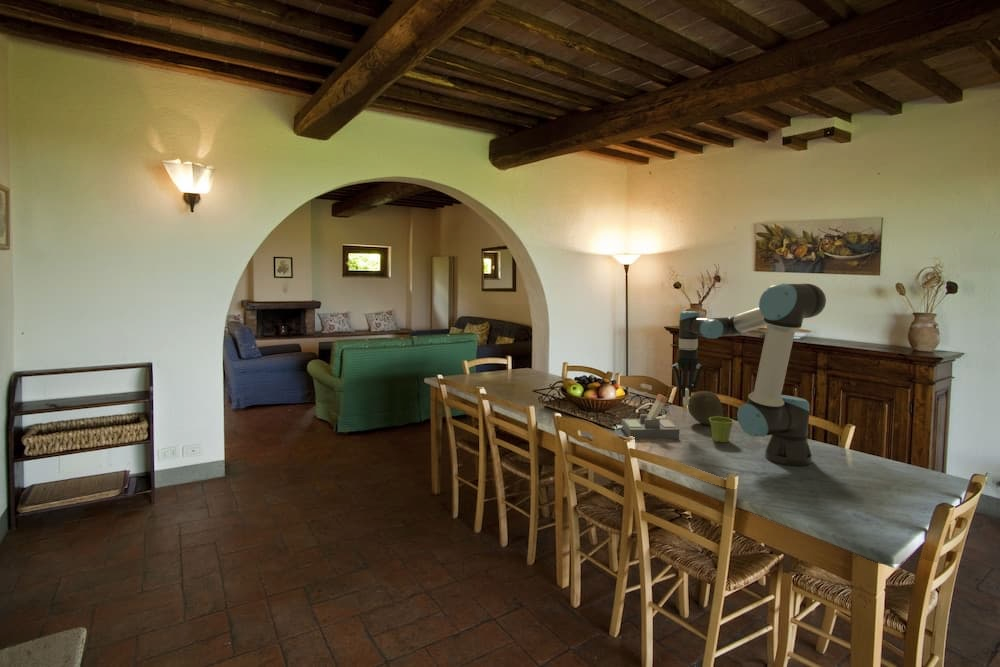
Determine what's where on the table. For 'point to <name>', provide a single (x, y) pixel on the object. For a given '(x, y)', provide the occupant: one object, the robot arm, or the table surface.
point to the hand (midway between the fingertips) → (685, 404)
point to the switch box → (650, 428)
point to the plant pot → (721, 428)
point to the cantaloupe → (704, 406)
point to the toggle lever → (657, 407)
